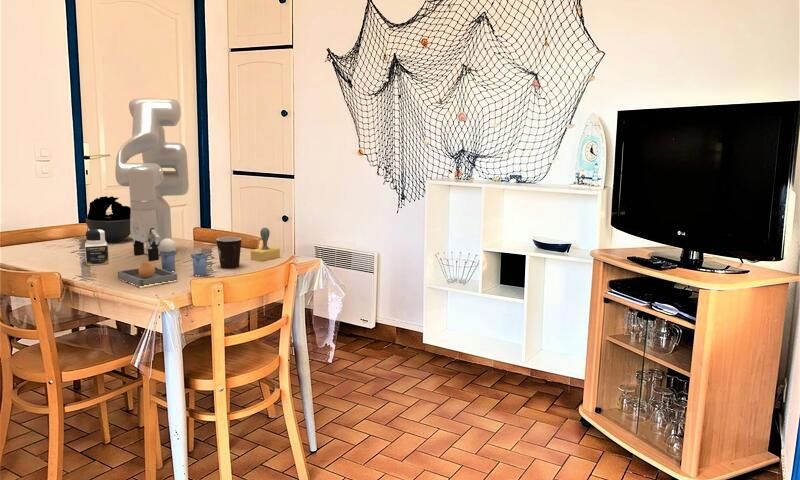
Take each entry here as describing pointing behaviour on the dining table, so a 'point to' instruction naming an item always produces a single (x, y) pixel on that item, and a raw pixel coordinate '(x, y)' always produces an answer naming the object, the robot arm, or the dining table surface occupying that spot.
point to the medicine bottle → (96, 248)
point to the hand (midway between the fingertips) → (146, 257)
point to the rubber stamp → (265, 249)
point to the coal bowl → (109, 218)
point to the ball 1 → (146, 270)
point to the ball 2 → (167, 245)
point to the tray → (136, 279)
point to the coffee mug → (229, 252)
